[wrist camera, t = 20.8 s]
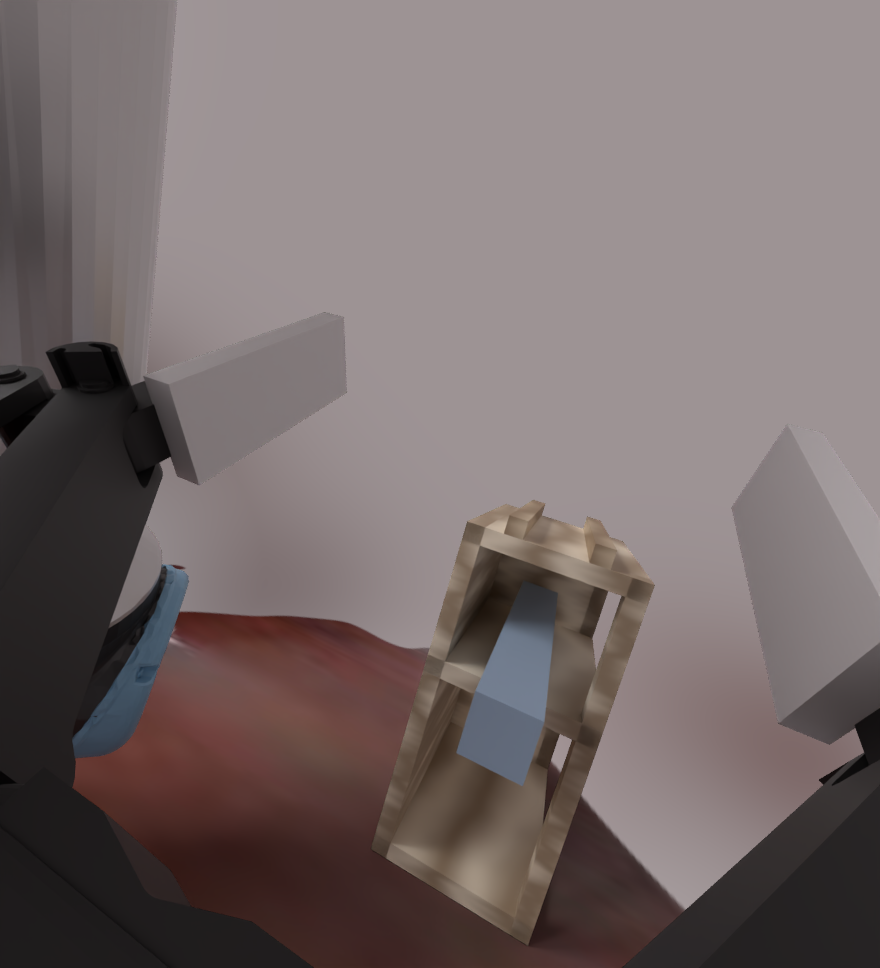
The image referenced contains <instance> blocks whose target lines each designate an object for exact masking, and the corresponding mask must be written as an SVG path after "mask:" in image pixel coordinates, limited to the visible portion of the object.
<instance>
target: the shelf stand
mask: <svg viewBox="0 0 880 968" xmlns="http://www.w3.org/2000/svg"><path fill="white" fill-rule="evenodd" d="M544 506H545V503H541V502H538V501H535V500H532V501H531V502H529V503H528V504H526V505H524V506H523V507H522V508H517V507H513V506H510V505H507V504H505V505H503V506H501V507H498V508H496V509H494V510H492V511H489V512H487V513H485V514H483V515H480V516H478V517H476V518H474V519H472V520H469V521H467V524H466V528H465V531H464V535H463V538H462V542H461V545H460V548H459V551H458V555H457V558H456V562H455V565H454V569H453V572H452V575H451V579H450V582H449V586H448V589H447V592H446V596H445V599H444V602H443V606H442V609H441V613H440V616H439V619H438V623H437V626H436V630H435V633H434V636H433V640H432V643H431V646H430V650H429V653H428V657H427V660H426V663H425V667H424V670H423V674H422V677H421V680H420V684H419V687H418V690H417V694H416V697H415V701H414V704H413V707H412V711H411V714H410V718H409V721H408V724H407V728H406V731H405V735H404V738H403V741H402V745H401V748H400V752H399V755H398V758H397V762H396V765H395V769H394V772H393V775H392V779H391V782H390V785H389V789H388V792H387V796H386V799H385V802H384V806H383V809H382V813H381V816H380V819H379V823H378V826H377V830H376V833H375V836H374V840H373V843H372V847H371V849H372V850H373V851H375V852H376V853H378V854H380V855H381V856H383V857H385V858H386V859H388V860H389V861H391V862H393V863H394V864H396V865H398V866H399V867H401V868H402V869H404V870H406V871H407V872H409V873H411V874H412V875H414V876H415V877H417V878H419V879H420V880H422V881H423V882H425V883H427V884H428V885H430V886H432V887H433V888H435V889H436V890H438V891H440V892H441V893H443V894H445V895H446V896H448V897H449V898H451V899H453V900H454V901H456V902H458V903H459V904H461V905H462V906H464V907H466V908H467V909H469V910H471V911H472V912H474V913H475V914H477V915H479V916H480V917H482V918H484V919H485V920H487V921H488V922H490V923H492V924H493V925H495V926H496V927H498V928H500V929H501V930H503V931H505V932H506V933H508V934H509V935H511V936H513V937H514V938H516V939H518V940H519V941H521V942H522V943H524V944H526V945H527V946H528V944H529V941H530V938H531V936H532V933H533V930H534V927H535V924H536V921H537V918H538V916H539V913H540V910H541V907H542V904H543V901H544V899H545V896H546V893H547V890H548V887H549V884H550V882H551V879H552V876H553V873H554V870H555V867H556V864H557V862H558V859H559V856H560V853H561V850H562V847H563V845H564V842H565V839H566V836H567V833H568V830H569V828H570V825H571V822H572V819H573V816H574V813H575V810H576V808H577V805H578V802H579V799H580V796H581V793H582V790H583V787H584V785H585V782H586V779H587V776H588V773H589V770H590V768H591V765H592V762H593V759H594V756H595V753H596V751H597V748H598V745H599V742H600V739H601V737H602V733H603V731H604V728H605V725H606V722H607V720H608V717H609V714H610V711H611V708H612V705H613V702H614V700H615V697H616V694H617V691H618V688H619V685H620V682H621V680H622V677H623V674H624V671H625V668H626V666H627V663H628V660H629V657H630V654H631V651H632V648H633V646H634V642H635V640H636V637H637V634H638V631H639V629H640V626H641V623H642V620H643V617H644V614H645V612H646V608H647V606H648V603H649V600H650V597H651V594H652V592H653V589H654V586H655V585H654V583H653V582H652V581H651V579H650V578H649V577H648V575H647V574H646V572H645V571H644V570H643V568H642V567H641V566H640V564H639V563H638V561H637V560H636V559H635V557H634V556H633V555H632V553H631V552H630V550H629V549H628V548H627V546H626V545H625V544H624V542H623V541H620V540H617V539H614V538H611V537H609V535H608V533H607V532H606V530H605V528H604V526H603V525H602V523H601V521H600V520H596V519H593V518H590V517H587V519H586V522H585V525H584V528H583V529H582V528H579V527H576V526H573V525H570V524H567V523H564V522H561V521H557V520H554V519H551V518H548V517H545V516H542V512H543V509H544ZM523 581H527V582H530V583H532V584H535V585H538V586H540V587H543V588H546V589H549V590H551V591H554V592H557V593H558V597H557V607H556V616H555V626H554V635H553V645H552V654H551V664H550V673H549V683H548V692H547V702H546V711H545V721H544V725H543V728H542V731H541V734H540V737H539V740H538V743H537V746H536V749H535V752H534V755H533V758H532V761H531V763H530V766H529V769H528V772H527V775H526V778H525V781H524V784H523V786H521V785H519V784H517V783H515V782H513V781H511V780H509V779H507V778H505V777H503V776H501V775H499V774H497V773H495V772H493V771H491V770H489V769H487V768H485V767H483V766H481V765H479V764H477V763H475V762H473V761H471V760H469V759H467V758H465V757H463V756H461V755H459V754H457V753H456V752H457V748H458V745H459V742H460V739H461V736H462V732H463V729H464V726H465V723H466V719H467V716H468V713H469V710H470V707H471V703H472V700H473V697H474V694H475V691H476V688H477V686H478V684H479V681H480V679H481V677H482V675H483V672H484V670H485V668H486V665H487V663H488V661H489V659H490V656H491V654H492V652H493V649H494V647H495V645H496V643H497V640H498V638H499V636H500V633H501V631H502V629H503V626H504V624H505V622H506V620H507V617H508V615H509V613H510V610H511V608H512V606H513V604H514V601H515V599H516V597H517V594H518V592H519V590H520V588H521V585H522V583H523ZM608 591H610V592H612V593H615V594H618V595H621V596H622V597H621V599H620V602H619V605H618V608H617V611H616V614H615V617H614V620H613V623H612V626H611V629H610V631H609V635H608V637H607V640H606V643H605V646H604V649H603V652H602V655H601V658H600V661H599V663H598V667H597V669H596V667H595V658H594V649H593V640H592V637H593V634H594V632H595V629H596V625H597V623H598V620H599V617H600V614H601V611H602V608H603V605H604V602H605V599H606V596H607V593H608ZM560 734H561V735H563V736H566V737H568V738H570V739H572V742H571V745H570V748H569V751H568V754H567V757H566V759H565V762H564V765H563V768H562V771H561V774H560V777H559V780H558V783H557V786H556V789H555V791H554V794H553V797H552V800H551V803H550V806H549V809H548V812H547V815H546V818H545V821H544V823H543V817H544V806H545V794H546V783H547V771H548V767H549V764H550V761H551V758H552V755H553V752H554V749H555V746H556V743H557V740H558V738H559V735H560Z"/></svg>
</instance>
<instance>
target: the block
mask: <svg viewBox="0 0 880 968" xmlns="http://www.w3.org/2000/svg"><path fill="white" fill-rule="evenodd" d="M557 597H558V593H557V592H554V591H551V590H549V589H546V588H543V587H540V586H538V585H535V584H532V583H530V582H527V581H523V583H522V585H521V588H520V590H519V592H518V594H517V597H516V599H515V601H514V604H513V606H512V608H511V610H510V613H509V615H508V617H507V620H506V622H505V624H504V626H503V629H502V631H501V633H500V636H499V638H498V640H497V643H496V645H495V647H494V649H493V652H492V654H491V656H490V659H489V661H488V663H487V665H486V668H485V670H484V672H483V675H482V677H481V679H480V681H479V684H478V686H477V688H476V691H475V694H474V697H473V700H472V703H471V707H470V710H469V713H468V716H467V719H466V723H465V726H464V729H463V732H462V736H461V739H460V742H459V745H458V748H457V752H456V753H457V754H459V755H461V756H463V757H465V758H467V759H469V760H471V761H473V762H475V763H477V764H479V765H481V766H483V767H485V768H487V769H489V770H491V771H493V772H495V773H497V774H499V775H501V776H503V777H505V778H507V779H509V780H511V781H513V782H515V783H517V784H519V785H521V786H523V784H524V781H525V778H526V775H527V772H528V769H529V766H530V763H531V761H532V758H533V755H534V752H535V749H536V746H537V743H538V740H539V737H540V734H541V731H542V728H543V725H544V721H545V711H546V702H547V692H548V683H549V673H550V664H551V654H552V645H553V635H554V626H555V616H556V607H557Z"/></svg>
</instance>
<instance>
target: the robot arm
mask: <svg viewBox="0 0 880 968" xmlns="http://www.w3.org/2000/svg"><path fill="white" fill-rule="evenodd" d="M176 7H177V0H0V968H313V967H312V966H311V965H309V964H308V963H307V962H305V961H304V960H303V959H301V958H300V957H299V956H297V955H296V954H295V953H293V952H292V951H291V950H289V949H288V948H287V947H285V946H284V945H283V944H281V943H280V942H279V941H277V940H276V939H274V938H273V937H272V936H270V935H269V934H268V933H266V932H265V931H264V930H262V929H261V928H260V927H258V926H257V925H256V924H254V923H253V922H251V921H247V920H243V919H239V918H235V917H231V916H227V915H222V914H218V913H214V912H210V911H206V910H202V909H198V908H194V907H191V905H190V903H189V902H188V900H187V898H186V896H185V895H184V893H183V891H182V889H181V888H180V886H179V884H178V882H177V881H176V879H175V877H174V875H173V874H172V872H171V870H169V869H168V868H167V867H166V866H165V865H164V864H163V863H161V862H160V861H159V860H158V859H157V858H156V857H155V856H154V855H152V854H151V853H150V852H149V851H148V850H147V849H146V848H144V847H143V846H142V845H141V844H140V843H139V842H138V841H137V840H135V839H134V838H133V837H132V836H131V835H130V834H129V833H127V832H126V831H125V830H124V829H123V828H122V827H121V826H120V825H118V824H117V823H116V822H115V821H114V820H113V819H112V818H110V817H109V816H108V815H107V814H106V813H105V812H104V811H102V810H101V809H100V808H98V807H97V806H96V805H94V804H93V803H92V802H90V801H89V800H88V799H86V798H85V797H84V796H82V795H81V794H80V793H78V792H77V791H76V790H74V789H73V788H72V787H73V782H74V778H75V763H76V761H75V758H83V757H95V756H103V755H106V754H109V753H111V752H113V751H115V750H117V749H119V748H120V747H122V746H123V745H124V744H125V743H126V742H127V741H128V740H129V739H130V738H131V736H132V735H133V733H134V731H135V729H136V727H137V725H138V723H139V720H140V718H141V715H142V713H143V710H144V708H145V705H146V702H147V700H148V697H149V694H150V691H151V689H152V686H153V683H154V680H155V677H156V673H157V670H158V668H159V667H160V664H161V661H162V658H163V655H164V653H165V651H166V648H167V645H168V642H169V640H170V637H171V634H172V631H173V628H174V625H175V622H176V620H177V617H178V614H179V611H180V608H181V605H182V601H183V599H184V596H185V593H186V589H187V586H188V582H189V580H188V575H187V574H186V573H185V572H184V571H182V570H178V569H175V568H174V567H173V566H171V565H162V550H161V547H160V544H159V541H158V540H157V538H156V536H155V535H154V533H153V532H152V531H151V530H150V528H149V527H148V526H147V525H146V521H147V518H148V516H149V513H150V510H151V507H152V504H153V502H154V499H155V496H156V493H157V491H158V488H159V485H160V482H161V479H162V476H163V472H162V468H161V466H160V464H159V463H160V462H161V461H163V460H165V459H167V458H169V457H171V459H172V462H173V465H174V468H175V471H176V474H177V476H178V477H180V478H183V479H185V480H188V481H190V482H193V483H195V484H197V485H201V484H203V483H204V482H206V481H207V480H209V479H210V478H212V477H214V476H215V475H217V474H219V473H220V472H222V471H223V470H225V469H227V468H228V467H230V466H231V465H233V464H234V463H236V462H238V461H239V460H241V459H242V458H244V457H246V456H247V455H249V454H250V453H252V452H254V451H255V450H257V449H258V448H260V447H262V446H263V445H265V444H266V443H268V442H269V441H271V440H273V439H274V438H276V437H277V436H279V435H281V434H282V433H284V432H285V431H287V430H289V429H290V428H292V427H293V426H295V425H297V424H298V423H300V422H301V421H303V420H304V419H306V418H308V417H309V416H311V415H312V414H314V413H315V412H317V411H319V410H320V409H322V408H324V407H325V406H327V405H328V404H330V403H332V402H333V401H335V400H336V399H338V398H339V397H341V396H343V395H344V394H346V393H347V388H346V361H345V337H344V317H342V316H338V315H334V314H330V313H326V312H324V313H321V314H318V315H315V316H313V317H310V318H307V319H304V320H301V321H298V322H295V323H293V324H290V325H287V326H284V327H281V328H278V329H275V330H273V331H270V332H267V333H264V334H261V335H258V336H255V337H252V338H250V339H247V340H244V341H241V342H238V343H235V344H233V345H230V346H227V347H224V348H221V349H218V350H216V351H212V352H210V353H207V354H204V355H201V356H198V357H195V358H192V359H190V360H187V361H184V362H181V363H178V364H175V365H172V366H169V367H167V368H164V369H161V370H158V371H155V372H152V373H149V374H147V365H148V352H149V340H150V328H151V316H152V303H153V291H154V278H155V265H156V254H157V242H158V229H159V217H160V205H161V192H162V179H163V168H164V155H165V142H166V131H167V118H168V117H167V116H168V104H169V93H170V81H171V68H172V56H173V44H174V32H175V19H176ZM732 512H733V516H734V520H735V526H736V530H737V535H738V539H739V544H740V549H741V553H742V558H743V562H744V567H745V572H746V577H747V581H748V586H749V591H750V595H751V600H752V605H753V609H754V614H755V618H756V623H757V628H758V632H759V637H760V642H761V646H762V651H763V656H764V660H765V665H766V669H767V674H768V679H769V683H770V688H771V693H772V697H773V701H774V707H775V711H776V716H777V721H778V724H780V725H783V726H785V727H788V728H790V729H793V730H795V731H797V732H800V733H803V734H805V735H807V736H810V737H812V738H814V739H817V740H819V741H822V742H824V743H827V744H829V745H830V744H832V743H833V742H835V741H836V740H838V739H839V738H841V737H842V736H844V735H845V734H846V733H848V732H850V731H851V730H853V729H854V728H856V731H857V733H858V736H859V739H860V742H861V745H862V747H863V750H864V753H863V754H861V755H859V756H858V757H856V758H854V759H852V760H851V761H849V762H847V763H846V764H844V765H842V766H841V767H839V768H838V769H836V770H834V771H833V772H831V773H830V774H828V775H826V776H824V777H823V778H821V779H819V781H820V782H821V783H822V784H823V786H822V787H821V788H819V789H818V790H817V791H816V792H815V793H814V794H813V795H812V796H811V797H809V798H808V799H807V800H806V801H805V802H804V803H803V804H802V805H801V806H800V807H798V808H797V809H796V810H795V811H794V812H793V813H792V814H791V815H790V816H789V817H787V819H785V820H784V821H783V822H782V823H781V824H780V825H779V826H778V827H776V828H775V829H774V830H773V831H772V832H771V833H770V834H769V835H768V836H767V837H765V838H764V839H763V840H762V841H761V842H760V843H759V844H758V845H757V846H756V847H754V848H753V849H752V850H751V851H750V852H749V853H748V854H747V855H746V856H745V857H743V858H742V859H741V860H740V861H739V862H738V863H737V864H736V865H735V866H734V867H733V868H731V869H730V870H729V871H728V872H727V873H726V874H725V875H724V876H723V877H722V878H720V879H719V880H718V881H717V882H716V883H715V884H714V885H713V886H712V887H710V888H709V889H708V890H707V891H706V892H705V893H704V894H703V895H702V896H701V897H699V898H698V899H697V900H696V901H695V902H694V903H693V904H692V905H691V906H690V907H689V908H687V909H686V910H685V911H684V912H683V913H682V914H681V915H680V916H678V917H677V918H676V919H675V920H674V921H673V922H672V923H671V924H670V925H669V926H667V927H666V928H665V929H664V930H663V931H662V932H661V933H660V934H659V935H658V936H656V937H655V938H654V939H653V940H652V941H651V942H650V943H649V944H648V945H647V946H645V947H644V948H643V949H642V950H641V951H640V952H639V953H638V954H637V955H636V956H634V957H633V958H632V959H631V960H630V961H629V962H628V963H627V964H626V965H625V966H623V967H622V968H880V519H879V517H878V516H877V514H876V513H875V511H874V510H873V508H872V507H871V505H870V504H869V502H868V501H867V499H866V498H865V496H864V495H863V493H862V492H861V490H860V488H859V487H858V485H857V484H856V483H855V481H854V479H853V478H852V476H851V475H850V474H849V472H848V470H847V469H846V467H845V466H844V464H843V463H842V462H841V460H840V458H839V457H838V456H837V454H836V452H835V451H834V449H833V448H832V446H831V445H830V443H829V442H828V441H827V439H826V437H825V436H824V434H823V433H822V432H818V431H815V430H811V429H806V428H802V427H798V426H794V425H790V424H787V425H786V427H785V428H784V429H783V431H782V432H781V434H780V435H779V437H778V439H777V440H776V441H775V443H774V444H773V446H772V448H771V449H770V451H769V452H768V454H767V455H766V456H765V458H764V459H763V461H762V463H761V464H760V465H759V467H758V469H757V470H756V472H755V473H754V475H753V476H752V477H751V479H750V480H749V482H748V484H747V485H746V487H745V488H744V490H743V491H742V493H741V494H740V496H739V497H738V499H737V500H736V502H735V503H734V505H733V506H732Z"/></svg>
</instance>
